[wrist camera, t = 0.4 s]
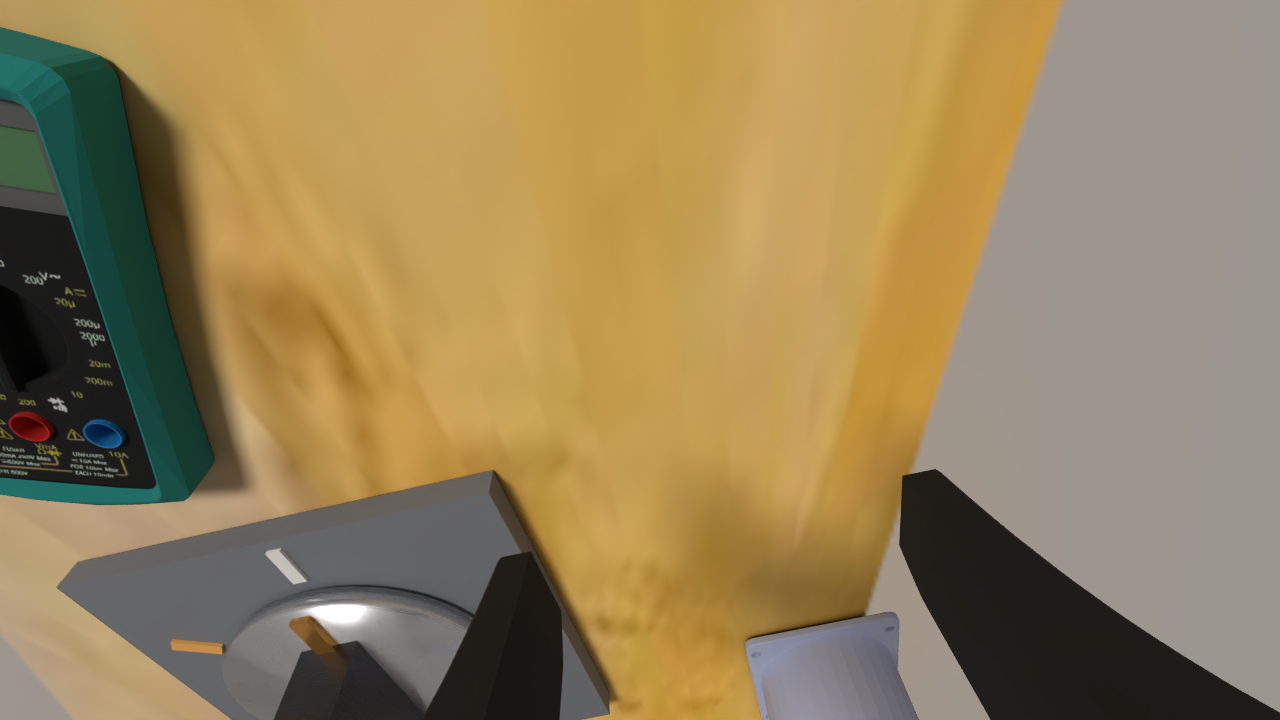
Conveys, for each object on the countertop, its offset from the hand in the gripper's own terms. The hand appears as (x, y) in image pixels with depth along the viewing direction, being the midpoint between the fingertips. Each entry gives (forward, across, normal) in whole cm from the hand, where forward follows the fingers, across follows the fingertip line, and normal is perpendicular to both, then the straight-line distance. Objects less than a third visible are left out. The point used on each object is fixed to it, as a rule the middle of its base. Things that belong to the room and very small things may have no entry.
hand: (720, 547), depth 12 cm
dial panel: (+10, +17, +15) cm, 25 cm away
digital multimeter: (+10, +18, -5) cm, 22 cm away
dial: (+9, +17, +15) cm, 24 cm away
